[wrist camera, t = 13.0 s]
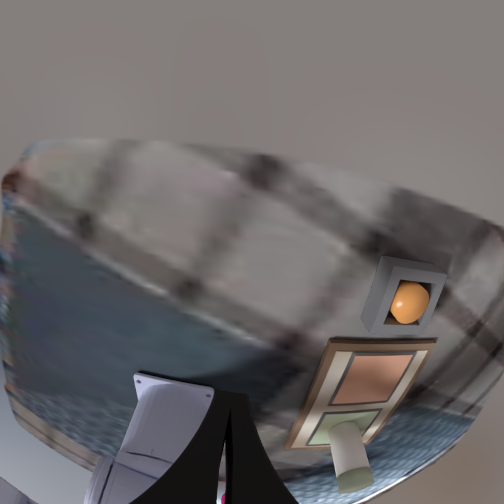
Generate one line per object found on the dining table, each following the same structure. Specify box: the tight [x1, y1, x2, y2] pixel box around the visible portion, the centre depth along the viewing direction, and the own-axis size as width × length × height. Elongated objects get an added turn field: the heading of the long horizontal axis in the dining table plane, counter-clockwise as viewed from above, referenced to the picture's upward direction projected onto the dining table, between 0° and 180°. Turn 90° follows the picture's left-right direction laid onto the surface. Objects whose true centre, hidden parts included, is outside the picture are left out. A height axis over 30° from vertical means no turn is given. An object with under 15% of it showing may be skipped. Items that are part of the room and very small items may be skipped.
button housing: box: [361, 255, 448, 334], centre depth 19 cm, size 6×6×2 cm
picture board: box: [283, 339, 436, 450], centre depth 24 cm, size 18×12×1 cm, turn 172°
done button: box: [389, 279, 429, 324], centre depth 19 cm, size 3×3×2 cm
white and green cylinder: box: [328, 422, 374, 494], centre depth 21 cm, size 4×4×8 cm
